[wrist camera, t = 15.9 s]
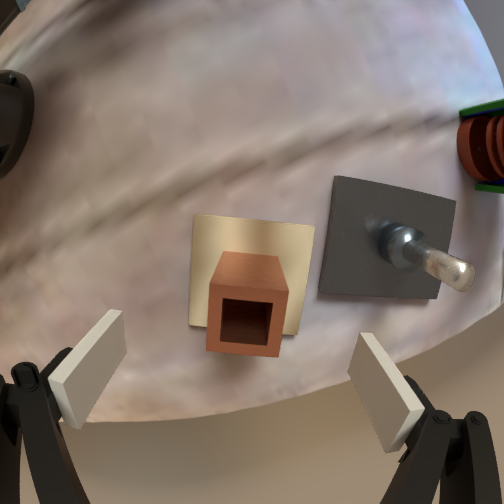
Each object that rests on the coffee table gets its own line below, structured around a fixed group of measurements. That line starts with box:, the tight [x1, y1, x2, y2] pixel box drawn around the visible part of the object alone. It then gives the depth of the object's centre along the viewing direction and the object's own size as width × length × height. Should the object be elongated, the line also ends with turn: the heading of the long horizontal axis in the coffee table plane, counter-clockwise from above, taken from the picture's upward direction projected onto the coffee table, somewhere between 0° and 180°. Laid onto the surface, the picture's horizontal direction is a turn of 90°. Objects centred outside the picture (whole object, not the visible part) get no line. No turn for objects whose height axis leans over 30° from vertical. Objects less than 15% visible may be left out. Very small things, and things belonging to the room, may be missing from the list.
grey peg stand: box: [318, 176, 475, 299], centre depth 22 cm, size 14×11×12 cm
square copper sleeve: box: [206, 251, 289, 357], centre depth 23 cm, size 5×5×9 cm
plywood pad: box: [189, 214, 315, 335], centre depth 28 cm, size 11×11×1 cm
